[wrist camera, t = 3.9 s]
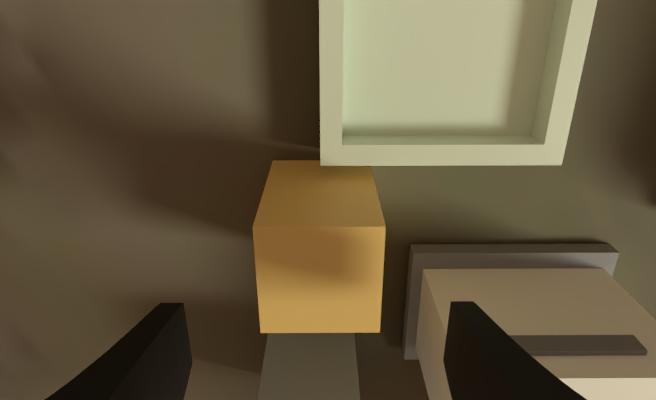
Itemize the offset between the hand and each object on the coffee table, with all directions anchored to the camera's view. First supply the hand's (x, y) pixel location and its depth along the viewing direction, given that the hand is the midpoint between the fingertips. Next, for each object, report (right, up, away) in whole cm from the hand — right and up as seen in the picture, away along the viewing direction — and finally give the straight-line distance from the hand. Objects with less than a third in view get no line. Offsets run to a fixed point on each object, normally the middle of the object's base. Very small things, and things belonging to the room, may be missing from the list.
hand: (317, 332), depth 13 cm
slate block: (0, -4, +11) cm, 12 cm away
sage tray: (+5, +10, +5) cm, 12 cm away
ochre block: (0, +3, +8) cm, 8 cm away
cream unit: (+9, -1, +10) cm, 13 cm away
